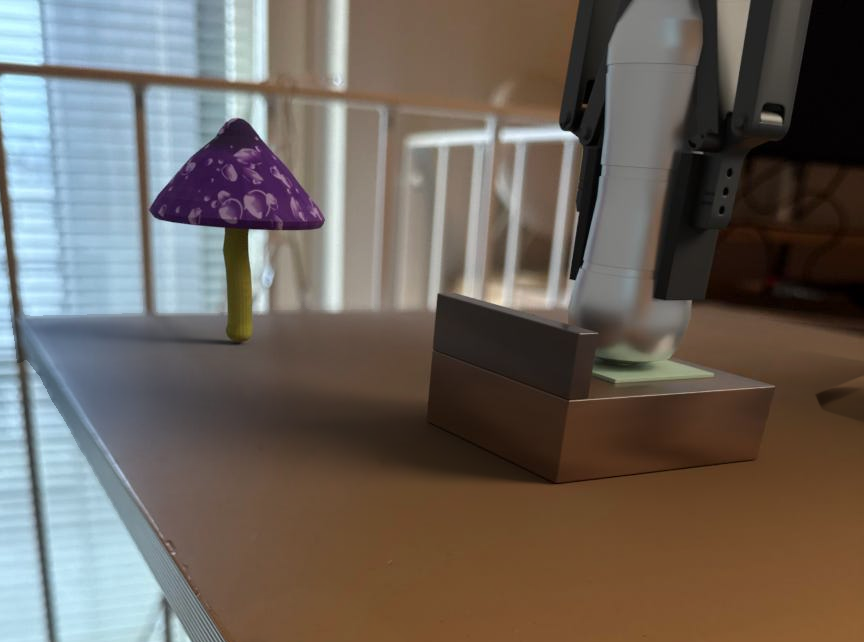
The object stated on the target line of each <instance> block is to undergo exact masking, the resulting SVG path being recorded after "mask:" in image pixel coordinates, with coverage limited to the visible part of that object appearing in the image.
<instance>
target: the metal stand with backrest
mask: <svg viewBox="0 0 864 642" xmlns="http://www.w3.org/2000/svg"><path fill="white" fill-rule="evenodd" d="M597 340H598V333H597V332H594V331H590V330H587V329H583V328H579V327H576V326H572V325H569V324H568V323H565V322H561V321H557V320H554V319H551V318H550V319H549V318H547V317H543V316H539V315H535V314H532V313H529V312H525V311H521V310H518V309H515V308H511V307H507V306H503V305H500V304H496V303H493V302H489V301H486V300H482V299H479V298H476V297H475V298H474V297H471V296H467V295H463V294H460V293H456V292H438V293H437V295H436V305H435V316H434V328H433V340H432V351H431V352H432V354H431V363H430V364H431V365H430V376H429V386H428V387H429V389H428V398H427V410H426V422H429V423H430V424H432V425H434V426H435V427H438V428H441V429H443V430H445V431H446V432H449V433H451V434H453V435H455V436H457V437H459V438H461V439H463V440H465V441H468V442H469V443H472V444H474V445H476V446H478V447H480V448H481V449H484V450H486V451H488V452H491V453H492V454H495V455H497V456H498V457H501V458H503V459H505V460H507V461H509V462H511V463H513V464H515V465H516V466H519V467H521V468H523V469H525V470H527V471H529V472H532V473H534V474H536V475H538V476H540V477H541V478H544V479H545V480H548V481H550V482H552V483H553V484H561V483H569V482H579V481H587V480H594V479H595V480H597V479H603V478H604V479H605V478H612V477H619V476H628V475H629V476H631V475H637V474H645V473H654V472H662V471H663V472H664V471H667V470H668V471H670V470H679V469H687V468H694V467H695V468H696V467H703V466H712V465H720V464H729V463H736V462H737V463H738V462H744V461H745V462H746V461H754V460H757V459H758V458H759V453H760V449H761V445H762V441H763V437H764V433H765V429H766V425H767V421H768V417H769V413H770V409H771V406H772V401H773V398H774V393H775V389H776V386H775V385H773V384H769V383H766V382H762V381H759V380H755V379H752V378H748V377H744V376H742V375H737V374H734V373H730V372H727V371H724V370H720V369H716V368H713V367H708V366H706V365H702V364H698V363H696V362H691V361H688V360H685V359H681V358H677V357H674V356H671V357H670V358H669V359H667V360H663V361H656V362H648V363H640V364H632V365H618V364H613V363H609V362H607V361H604V360H601V359H599V358H596V357H595V352H596V346H597Z"/></svg>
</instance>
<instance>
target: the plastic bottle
mask: <svg viewBox="0 0 864 642" xmlns="http://www.w3.org/2000/svg"><path fill="white" fill-rule="evenodd" d="M702 45H703V19H702V14H701V10H700V6H699V2H698V0H632V1H631V2H630V4H629V5H628V7H627V8H626V10H625V11H624V13H623V14H622V16H621V17H620V19H619V20H618V22H617V23H616V26H615V29H614V31H613V34H612V36H611V39H610V41H609V44H608V53H607V63H606V67H608V71H607V74H606V94H605V127H604V140H603V149H602V158H601V165H602V172H601V176H599V186H598V195H597V200H596V205H595V209H594V214H593V218H592V223H591V227H590V231H589V236H588V240H587V245H586V249H585V254H584V258H583V260H584V263H583V265H582V266H581V267H580V269H579V272H578V275H577V277H576V280H574V285H573V287H572V291H571V295H570V300H569V303H568V306H567V321H568V322H567V324H569V325H572V326H576V327H579V328H583V329H587V330H590V331H594V332H597V333H598V340H597V346H596V352H595V357H596V358H599V359H601V360H604V361H607V362H609V363H613V364H618V365H632V364H640V363H648V362H656V361H663V360H667V359H669V358H670V357H673V356H674V354H675V352H676V351H677V350H678V349H679V348H680V347H681V346H682V344H683V341H684V339H685V336H686V333H687V330H688V328H689V324H690V322H691V317H692V304H693V300H661V299H656V298H655V293H656V287H657V282H658V277H659V271H660V266H661V260H662V255H663V250H664V244H665V239H666V234H667V228H668V223H669V218H670V212H671V207H672V201H673V196H674V191H675V185H676V180H677V175H678V169H679V164H680V159H681V153H696V154H703V152H698V151H691V150H689V148H688V147H687V144H686V140H690V138H693V137H695V136H698V129H697V66H698V63H699V58H700V53H701V49H702Z"/></svg>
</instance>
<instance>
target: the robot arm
mask: <svg viewBox="0 0 864 642" xmlns="http://www.w3.org/2000/svg"><path fill="white" fill-rule="evenodd" d="M631 1H632V0H578V6H577V12H576V17H575V23H574V28H573V35H572V40H571V45H570V52H569V58H568V64H567V65H568V66H567V69H566V75H565V76H566V77H565V80H564V87H563V93H562V99H561V106H560V111H559V116H558V126H559V128H560V130H562V131H563V132H570V133H571V134H573V135H574V136H575V137H577V138H578V141H579V144H580V145H582V157H581V163H580V170H579V177H578V184H577V191H576V198H575V206H576V207H575V208H576V209H575V210H576V213H578V217H577V223H576V229H575V236H574V237H575V238H574V243H573V251H572V257H571V264H570V271H569V278H568V280H570V281H575V280H576V277H577V275H578V272H579V269H580V267H581V266H582V265H583V263H584V260H583V258H584V254H585V249H586V245H587V240H588V236H589V231H590V227H591V223H592V218H593V214H594V209H595V205H596V200H597V195H598V186H599V176H601V172H602V165H601V158H602V149H603V140H604V127H605V94H606V74H607V71H608V67H606V63H607V53H608V44H609V41H610V39H611V36H612V34H613V31H614V29H615V26H616V23H617V22H618V20H619V19H620V17H621V16H622V14H623V13H624V11H625V10H626V8H627V7H628V5H629V4H630V2H631ZM813 1H814V0H698V2H699V6H700V10H701V14H702V19H703V45H702V49H701V53H700V58H699V63H698V66H697V129H698V136H695V137H693V138H690V140H686V144H687V147H688V148H689V150H691V151H698V152H703V154H696V153H681V159H680V164H679V169H678V175H677V180H676V185H675V191H674V196H673V201H672V207H671V212H670V218H669V223H668V228H667V234H666V239H665V244H664V250H663V255H662V260H661V266H660V271H659V277H658V282H657V287H656V293H655V298H656V299H661V300H692V301H705V300H706V299H705V298H706V294H707V290H708V286H709V285H708V284H709V280H710V275H711V271H712V265H713V260H714V257H715V251H716V248H717V242H718V236H719V231H720V230H722V231H723V230H724V231H725V230H726V228H727V227H728V225H729V223H730V221H731V219H732V214H733V209H734V205H735V200H736V196H737V191H738V186H739V182H740V177H741V172H742V168H743V164H744V160H745V158H746V156H747V155H748V154H749V153H750V151H751V150H752V149H754V148H755V147H758V146H761V145H763V144H766V143H767V142H770V141H771V142H778V141H781V140H783V138H785V137H786V135H787V133H788V132H789V130H790V127H791V121H792V117H793V111H794V104H795V101H796V94H797V90H798V89H797V88H798V84H799V78H800V71H801V66H802V61H803V55H804V50H805V46H806V45H805V44H806V39H807V33H808V29H809V23H810V17H811V12H812V11H811V10H812V6H813ZM583 105H586V107H584V106H583Z"/></svg>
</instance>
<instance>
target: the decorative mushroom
mask: <svg viewBox="0 0 864 642" xmlns="http://www.w3.org/2000/svg"><path fill="white" fill-rule="evenodd" d="M148 211H149V212H150V215H152V216H153V217H154V219H156V220H158V221H163V222H169V223H175V224H180V225H189V226H201V227H209V228H221V229H224V235H223V236H224V237H223V244H222V245H223V246H222V254H223V261H224V268H225V279H226V293H227V294H226V298H227V299H226V300H227V306H226V307H227V324H226V328H225V334H226V336H227V337H228V338H229V339H230V341H234V342H236V343H238V344H240V343H243V342H247V341H249V340H250V339H251V337H252V336H253V284H252V268H251V263H250V262H251V261H250V253H249V251H250V250H249V232H250V230H254V231H255V230H256V231H257V230H259V231H312V230H318V229H321V228H322V227H323V226H324V224H325V221H326V219H325V216H324V214H323V213H322V211H321V209H320V208H319V206H318V204H317V203H316V202H315V201H314V199H312V197H311V196H310V195H309V194H308V193H307V192H306V190H305V189H304V187H303V186H302V184H301V183H300V182H299V181H298V180H297V177H295V176H294V175H293V173H292V171H291V170H290V169H289V167H287V165H286V164H285V163H284V162H283V161H282V160H281V159H280V158H279V157H278V156H277V155H276V154H275V153H274V152H273V150H272V149H271V148H270V147H269V145H268V144H267V143H266V142H265V141H264V140H263V139H262V138H261V136H260V135H259V134H258V132H257V131H256V130H255V128H254V127H253V126H252V125H251V124H250V123H249V122H248V121H247V120H245V119H244V118H241V117H233V118H230V119H229V120H228V121H226V122H225V123H224V124H223V125H221V127H220V128H219V130H218V132H217V134H216V135H215V136H214V138H212V139H211V140H210V141H209V142H207V143H206V144H204V145H203V146H202V147H201V148H199V150H198V151H196V152H195V153H194V154H193V155H191V156H190V157H189V159H188V160H187V161H185V163H184V164H183V165H182V166H181V167H180V169H179V170H178V171H177V172H176V173H175V174H174V175H173V176H172V178H171V179H170V180H169V181H168V183H166V185H165V186H164V187H163V189H161V190H160V192H159V193H158V194H157V196H156V197H155V199H154V200H153V202H152V204H151V205H150V206H149V208H148Z"/></svg>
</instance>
